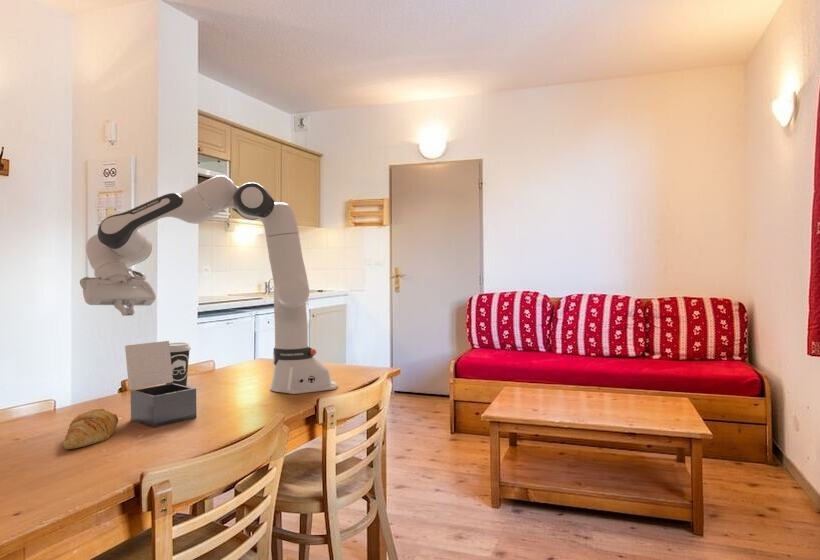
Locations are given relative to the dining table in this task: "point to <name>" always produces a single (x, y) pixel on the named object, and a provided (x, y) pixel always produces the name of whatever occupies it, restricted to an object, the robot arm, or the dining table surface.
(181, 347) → the coffee cup
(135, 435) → the dining table surface
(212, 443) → the dining table surface
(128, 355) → the lid
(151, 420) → the grey box
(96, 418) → the croissant
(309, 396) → the dining table surface
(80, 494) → the dining table surface
